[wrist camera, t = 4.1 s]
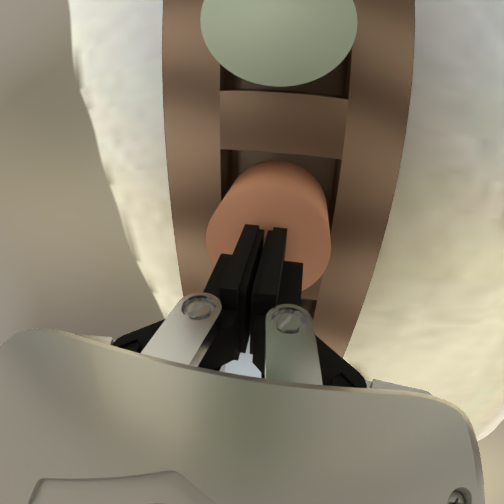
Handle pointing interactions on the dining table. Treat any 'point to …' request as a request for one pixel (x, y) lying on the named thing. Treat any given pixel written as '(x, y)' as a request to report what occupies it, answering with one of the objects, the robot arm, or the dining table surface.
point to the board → (292, 146)
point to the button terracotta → (276, 215)
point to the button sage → (279, 37)
